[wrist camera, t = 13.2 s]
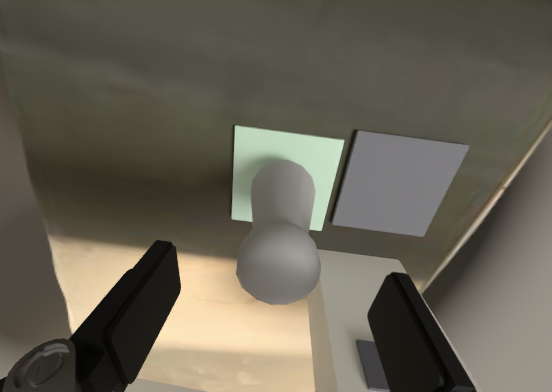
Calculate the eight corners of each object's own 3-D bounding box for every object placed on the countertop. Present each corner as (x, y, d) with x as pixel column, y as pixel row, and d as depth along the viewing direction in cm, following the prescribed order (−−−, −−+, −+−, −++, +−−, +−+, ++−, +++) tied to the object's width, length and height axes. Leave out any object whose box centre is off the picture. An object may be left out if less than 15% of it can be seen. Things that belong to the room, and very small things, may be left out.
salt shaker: (322, 168, 21) (366, 260, 10) (297, 215, 24) (307, 336, 12) (266, 144, 21) (238, 211, 9) (246, 195, 23) (202, 302, 11)
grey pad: (356, 129, 20) (358, 130, 20) (465, 144, 20) (469, 145, 20) (331, 221, 25) (332, 224, 24) (420, 233, 25) (423, 236, 24)
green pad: (236, 124, 21) (235, 125, 20) (343, 139, 21) (344, 140, 20) (232, 216, 25) (231, 219, 24) (320, 227, 25) (321, 230, 24)
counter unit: (315, 246, 26) (349, 450, 11) (399, 257, 26) (540, 475, 11) (305, 286, 29) (322, 489, 14) (381, 296, 29) (474, 509, 14)
